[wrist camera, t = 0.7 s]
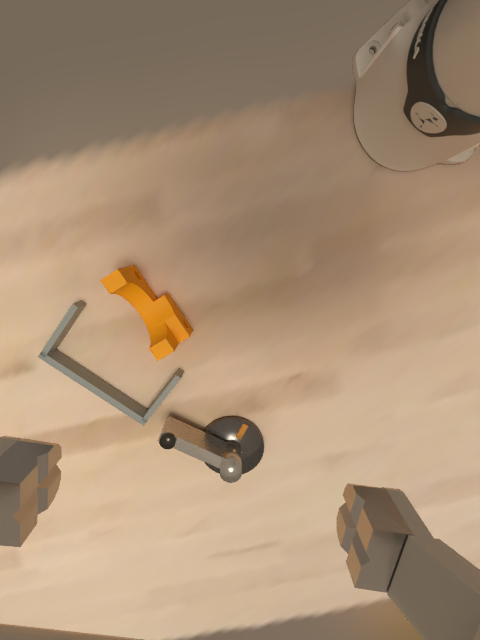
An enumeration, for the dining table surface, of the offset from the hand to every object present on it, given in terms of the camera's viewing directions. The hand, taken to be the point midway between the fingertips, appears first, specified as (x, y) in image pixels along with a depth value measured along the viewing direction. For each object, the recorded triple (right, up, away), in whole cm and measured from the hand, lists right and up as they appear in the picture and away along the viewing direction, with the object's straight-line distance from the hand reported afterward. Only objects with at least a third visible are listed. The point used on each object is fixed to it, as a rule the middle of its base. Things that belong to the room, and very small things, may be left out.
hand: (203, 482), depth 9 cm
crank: (-5, -13, +41) cm, 43 cm away
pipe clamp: (-11, +7, +37) cm, 39 cm away
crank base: (0, -15, +42) cm, 45 cm away
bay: (-17, -1, +39) cm, 42 cm away
